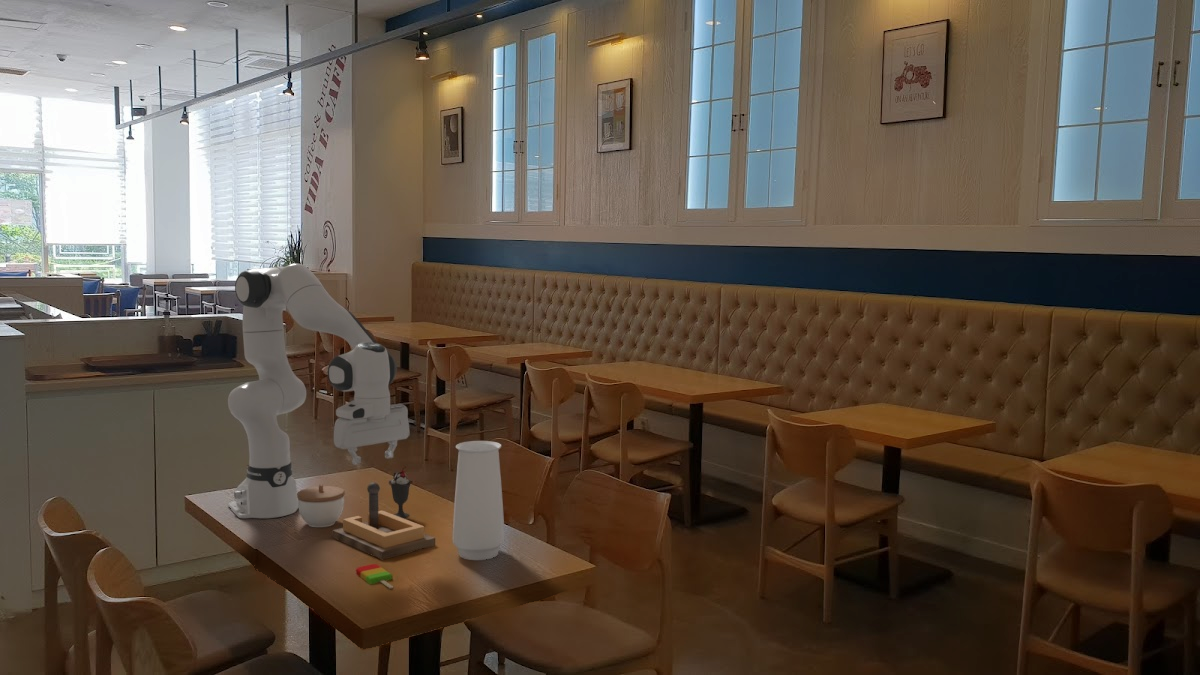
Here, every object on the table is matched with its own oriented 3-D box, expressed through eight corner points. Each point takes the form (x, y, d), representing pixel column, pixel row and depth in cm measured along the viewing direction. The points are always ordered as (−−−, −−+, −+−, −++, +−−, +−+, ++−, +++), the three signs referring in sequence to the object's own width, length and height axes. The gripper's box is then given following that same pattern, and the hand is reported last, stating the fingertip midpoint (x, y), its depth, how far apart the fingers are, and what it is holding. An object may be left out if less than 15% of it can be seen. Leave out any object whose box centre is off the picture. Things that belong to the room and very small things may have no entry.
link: (343, 530, 245) (342, 519, 245) (382, 520, 254) (382, 510, 254) (384, 548, 231) (384, 536, 231) (424, 537, 240) (424, 526, 240)
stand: (332, 537, 245) (331, 482, 244) (384, 524, 257) (383, 472, 255) (382, 559, 229) (381, 501, 227) (435, 545, 240) (435, 489, 239)
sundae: (409, 519, 262) (409, 467, 260) (386, 519, 262) (385, 467, 261) (415, 512, 269) (414, 462, 267) (392, 512, 269) (391, 462, 267)
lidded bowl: (316, 533, 249) (315, 493, 247) (288, 524, 256) (287, 485, 255) (354, 522, 259) (353, 484, 257) (326, 514, 266) (325, 476, 265)
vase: (455, 564, 226) (455, 452, 223) (450, 547, 238) (449, 441, 236) (508, 560, 229) (508, 449, 227) (499, 543, 242) (500, 439, 239)
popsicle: (376, 570, 223) (376, 562, 223) (403, 589, 211) (403, 581, 211) (354, 575, 220) (354, 567, 220) (380, 594, 208) (380, 586, 208)
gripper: (400, 401, 243) (400, 452, 244) (329, 410, 228) (330, 465, 230) (414, 404, 238) (414, 456, 240) (343, 413, 224) (344, 469, 225)
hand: (373, 460), depth 235 cm, fingers open, 8 cm apart
